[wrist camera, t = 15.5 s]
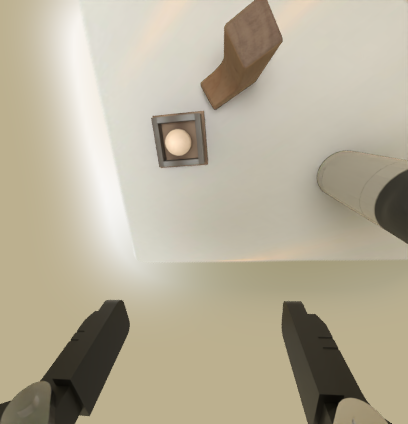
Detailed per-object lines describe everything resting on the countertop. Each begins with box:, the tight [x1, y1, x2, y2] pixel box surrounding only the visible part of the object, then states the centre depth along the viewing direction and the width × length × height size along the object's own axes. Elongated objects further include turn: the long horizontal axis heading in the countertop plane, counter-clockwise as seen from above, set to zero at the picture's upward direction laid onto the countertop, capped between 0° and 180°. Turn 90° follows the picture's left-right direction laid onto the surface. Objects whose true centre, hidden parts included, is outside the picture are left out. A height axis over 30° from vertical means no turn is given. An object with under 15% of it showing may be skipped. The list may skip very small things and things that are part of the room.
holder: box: [151, 111, 208, 168], centre depth 40 cm, size 10×10×4 cm
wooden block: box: [201, 0, 282, 109], centre depth 29 cm, size 9×4×18 cm, turn 122°
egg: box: [165, 129, 191, 156], centre depth 37 cm, size 5×5×7 cm
